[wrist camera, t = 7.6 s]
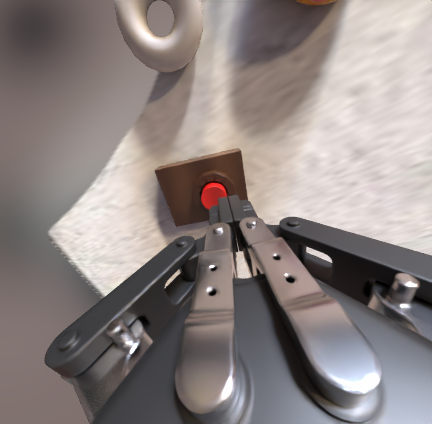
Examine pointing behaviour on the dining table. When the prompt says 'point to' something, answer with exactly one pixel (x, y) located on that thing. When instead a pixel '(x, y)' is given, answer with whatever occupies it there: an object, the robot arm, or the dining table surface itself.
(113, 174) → the dining table surface
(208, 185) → the light button
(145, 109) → the dining table surface
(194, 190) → the switch block
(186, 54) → the donut
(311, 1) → the donut
